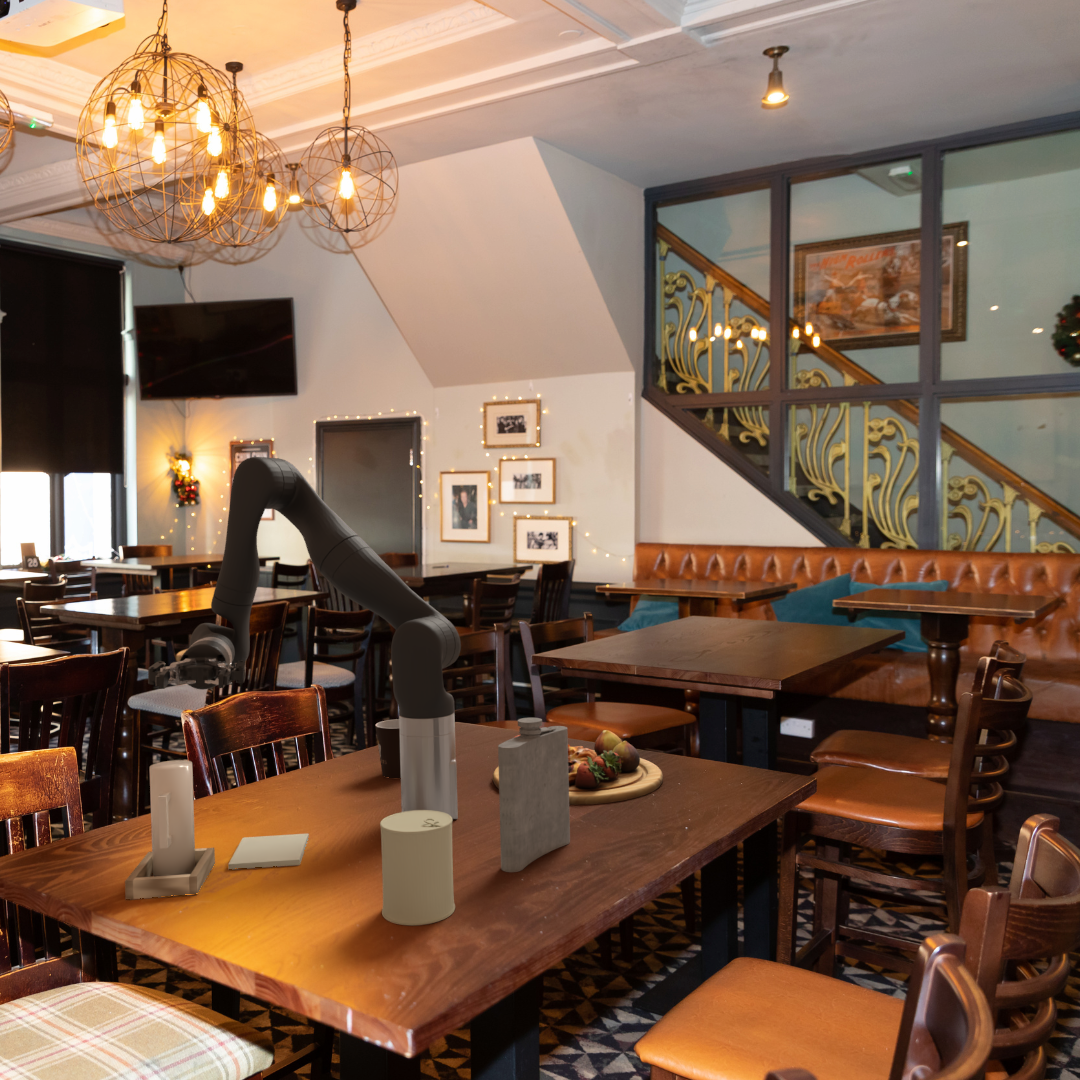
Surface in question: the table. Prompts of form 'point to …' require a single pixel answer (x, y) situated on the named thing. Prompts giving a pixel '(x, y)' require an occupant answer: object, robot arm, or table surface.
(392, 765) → the coffee mug
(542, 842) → the hip flask
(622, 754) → the wooden plate with food
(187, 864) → the cream jug
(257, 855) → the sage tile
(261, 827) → the table surface
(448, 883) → the can
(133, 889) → the collar
